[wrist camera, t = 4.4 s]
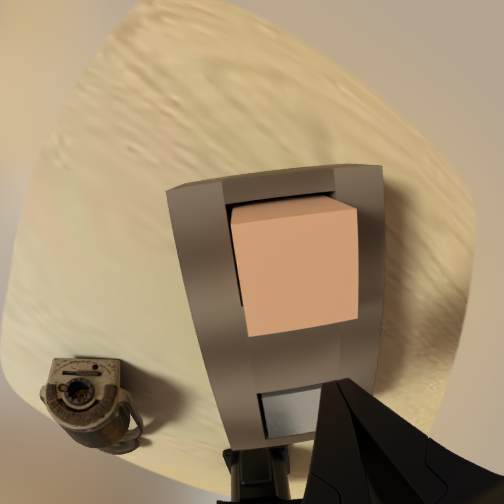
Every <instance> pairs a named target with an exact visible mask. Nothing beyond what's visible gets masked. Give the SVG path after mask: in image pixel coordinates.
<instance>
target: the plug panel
mask: <svg viewBox="0 0 504 504" xmlns="http://www.w3.org/2000/svg"><path fill="white" fill-rule="evenodd" d="M308 193H311V195H316V194H322V195H324V196H327V197H329V198H332V199H334V200H337V201H339V202H342V203H344V204H346V205H349V206H351V207H353V208H356V209H357V227H358V318H357V319H352V320H347V321H342V322H337V323H332V324H327V325H321V326H316V327H310V328H304V329H298V330H292V331H286V332H280V333H273V334H266V335H259V336H252V337H249V336H248V330H247V324H246V318H245V312H244V306H243V300H242V293H241V287H240V281H239V275H238V268H237V262H236V256H235V249H234V243H233V236H232V230H231V219H232V214H231V207H230V203H237V202H244V201H251V200H259V199H266V198H274V197H282V196H290V195H299V194H308ZM166 196H167V201H168V207H169V213H170V218H171V223H172V229H173V234H174V239H175V244H176V249H177V254H178V258H179V263H180V268H181V272H182V277H183V281H184V286H185V290H186V294H187V298H188V303H189V307H190V311H191V315H192V319H193V323H194V327H195V330H196V334H197V338H198V342H199V346H200V349H201V353H202V356H203V360H204V364H205V367H206V371H207V374H208V377H209V381H210V384H211V388H212V391H213V394H214V397H215V401H216V404H217V407H218V410H219V413H220V416H221V419H222V422H223V425H224V428H225V431H226V434H227V437H228V440H229V443H230V446H231V449H232V450H244V449H255V448H264V447H272V446H279V445H286V444H292V443H298V442H304V441H309V440H314V438H315V431H313V432H308V433H302V434H296V435H290V436H284V437H277V438H270V439H269V435H268V430H267V424H266V418H265V412H264V406H263V401H262V394H260V393H265V392H272V391H279V390H286V389H292V388H298V387H303V386H309V385H314V384H319V383H324V382H329V381H336V380H339V379H344V378H350V379H351V380H353V381H354V382H355V383H357V384H358V385H359V386H360V387H362V388H363V389H364V390H366V391H367V392H368V393H370V394H371V395H372V394H373V388H374V382H375V375H376V368H377V361H378V353H379V345H380V335H381V325H382V313H383V299H384V280H385V205H384V185H383V171H382V166H380V165H363V164H336V165H323V166H312V167H301V168H291V169H282V170H273V171H265V172H257V173H249V174H242V175H235V176H228V177H221V178H215V179H208V180H202V181H196V182H190V183H185V184H182V185H180V186H177V187H175V188H172V189H170V190H167V191H166Z"/></svg>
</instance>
